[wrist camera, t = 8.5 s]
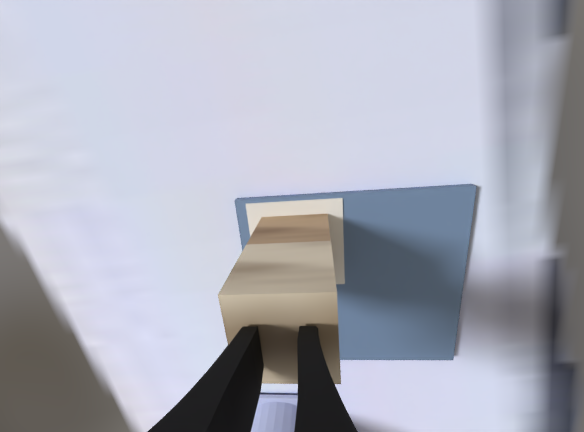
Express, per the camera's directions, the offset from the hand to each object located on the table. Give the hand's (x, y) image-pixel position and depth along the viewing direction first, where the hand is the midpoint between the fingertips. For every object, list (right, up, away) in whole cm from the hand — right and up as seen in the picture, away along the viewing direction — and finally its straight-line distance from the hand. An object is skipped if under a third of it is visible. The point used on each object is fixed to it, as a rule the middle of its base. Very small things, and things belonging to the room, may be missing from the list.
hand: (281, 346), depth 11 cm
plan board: (+5, 0, +10) cm, 11 cm away
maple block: (0, +2, +4) cm, 5 cm away
